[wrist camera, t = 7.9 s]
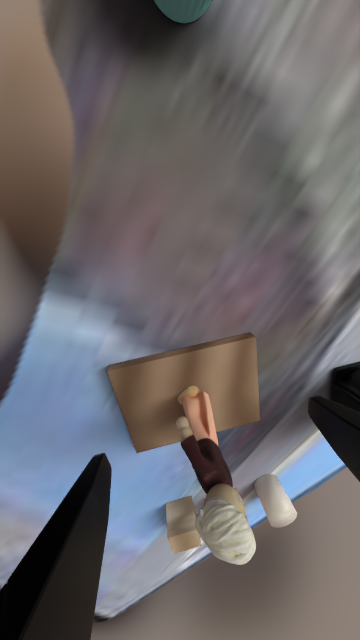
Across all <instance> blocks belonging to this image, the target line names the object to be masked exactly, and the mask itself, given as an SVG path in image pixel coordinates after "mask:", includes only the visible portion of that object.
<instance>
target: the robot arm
mask: <svg viewBox="0 0 360 640" xmlns="http://www.w3.org/2000/svg"><path fill="white" fill-rule="evenodd" d="M308 413H309V416H310V418H311V419H312V421H313V422H314V423H315V425H316V426H317V428H318V429H319V430H320V432H321V433H322V435H323V436H324V437H325V439H326V440H327V442H328V443H329V444H330V446H331V447H332V449H333V450H334V451H335V453H336V454H337V455H338V456H339V458H340V459H341V460H342V461H343V462H344V464H345V465H346V466H347V467H348V468H349V470H350V471H351V472H352V473H353V474H354V476H355V477H356V478H357V479H358V480H359V482H360V362H359V363H355V364H351V365H347V366H343V367H339V368H336V369H335V370H334V371H333V378H332V388H331V398H330V400H329V399H326V398H324V397H322V396H314V397H310V398H309V402H308ZM111 472H112V471H111V465H110V463H109V461H108V459H107V456H106V455H105V453H101V454H97V455H95V456H93V457H92V459H91V460H90V462H89V463H88V465H87V466H86V468H85V469H84V470H83V472H82V473H81V475H80V476H79V478H78V479H77V481H76V482H75V483H74V485H73V486H72V488H71V489H70V491H69V492H68V494H67V495H66V496H65V498H64V499H63V501H62V502H61V504H60V505H59V507H58V508H57V509H56V511H55V512H54V514H53V515H52V517H51V518H50V520H49V521H48V523H47V524H46V525H45V527H44V528H43V530H42V531H41V533H40V534H39V536H38V537H37V538H36V540H35V541H34V543H33V544H32V546H31V547H30V549H29V550H28V551H27V553H26V554H25V556H24V557H23V559H22V560H21V562H20V563H19V564H18V566H17V567H16V569H15V570H14V572H13V573H12V575H11V576H10V577H9V579H8V581H7V583H6V584H5V585H4V586H3V587H2V589H1V590H0V640H90V638H91V631H92V625H93V619H94V612H95V606H96V599H97V592H98V586H99V579H100V572H101V566H102V559H103V553H104V546H105V539H106V533H107V526H108V517H109V504H110V488H111Z"/></svg>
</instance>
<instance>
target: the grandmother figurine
mask: <svg viewBox="0 0 360 640" xmlns="http://www.w3.org/2000/svg"><path fill="white" fill-rule="evenodd" d="M177 399H178V402H179V403H180V404H181V405H183V408H184V411H185V414H186V417H187V418H186V417H184V416H181V417H179V418H178V419H177V421H176V425H177V428H178V429H179V435H180V439H181V446H182V448H183V450H184V451H185V453H186V455H187V456H188V458H189V460H190V461H191V463H192V467H193V469H194V470H195V473H196V476H197V478H198V480H199V482H200V484H201V486H202V488H203V490H204V491H205V493H206V494H207V495H206V500H205V506H204V507H203V508H202V509H200V512H199V514H198V515H197V516H196V520H195V526H196V529H197V531H198V533H199V534H200V536H201V538H202V540H203V541H204V542H205V543H206V545H207V546H208V548H209V549H210V551H211V552H212V553H213V554H214V555H215V556H216V557H217V558H219V559H221V560H224V561H227V562H229V563H233V564H237V565H242V564H245V563H247V562H248V561H249V560H250V559H251V557H252V556H253V554H254V553H255V550H256V543H255V539H254V535H253V533H252V530H251V527H250V525H249V524H248V522H247V520H246V518H245V507H244V504H243V501H242V499H241V497H240V495H239V494H238V492H237V491H236V490H235V489H234V488H233V483H232V478H231V474H230V471H229V468H228V466H227V464H226V462H225V460H224V459H223V456H222V453H221V451H220V449H219V447H218V439H217V435H216V429H215V424H214V419H213V413H212V408H211V403H210V399H209V395H208V394H207V393H206V392H202V393H201V395H200V390H199V389H198V387H196V386H188V387H187V388H186V389H185V390H184V391H183V392H181V393H180V394H179V395H178V398H177Z"/></svg>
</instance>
